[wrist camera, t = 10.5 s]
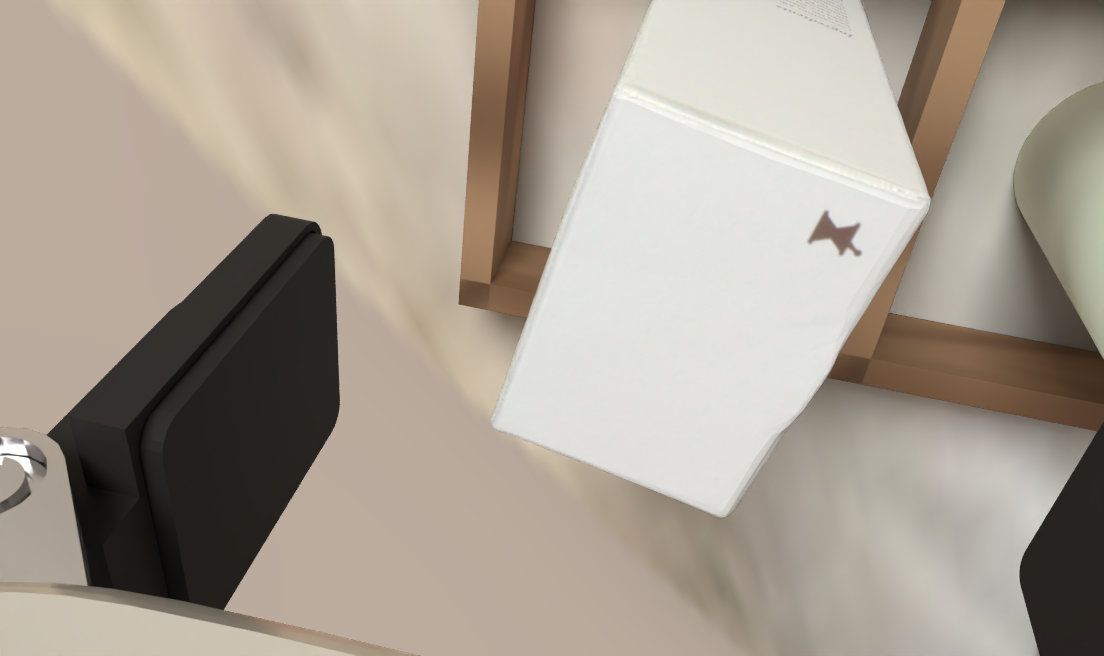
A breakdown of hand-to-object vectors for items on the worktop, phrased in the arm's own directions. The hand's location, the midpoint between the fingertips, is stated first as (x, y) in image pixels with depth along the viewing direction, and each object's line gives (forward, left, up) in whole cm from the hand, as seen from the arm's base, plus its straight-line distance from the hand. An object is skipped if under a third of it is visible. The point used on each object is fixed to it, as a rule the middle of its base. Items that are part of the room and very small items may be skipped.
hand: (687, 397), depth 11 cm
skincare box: (0, 0, -14) cm, 14 cm away
